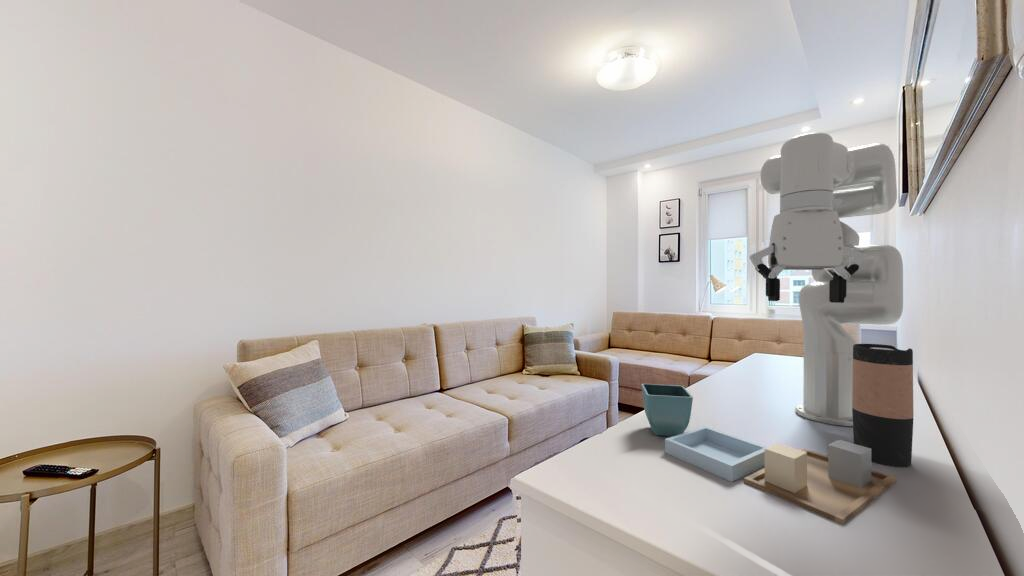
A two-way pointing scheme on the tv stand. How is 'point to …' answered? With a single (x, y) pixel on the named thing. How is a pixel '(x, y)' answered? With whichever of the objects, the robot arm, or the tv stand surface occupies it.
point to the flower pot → (667, 408)
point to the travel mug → (883, 402)
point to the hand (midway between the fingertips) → (804, 301)
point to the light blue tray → (717, 452)
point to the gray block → (849, 463)
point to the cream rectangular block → (786, 467)
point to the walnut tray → (826, 490)
